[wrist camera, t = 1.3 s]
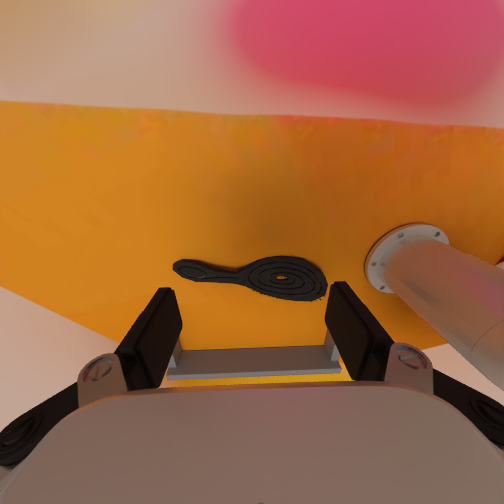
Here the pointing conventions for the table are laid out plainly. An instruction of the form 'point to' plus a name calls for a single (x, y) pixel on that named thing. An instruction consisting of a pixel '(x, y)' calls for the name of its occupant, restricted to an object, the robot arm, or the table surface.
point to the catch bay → (254, 361)
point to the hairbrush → (264, 277)
